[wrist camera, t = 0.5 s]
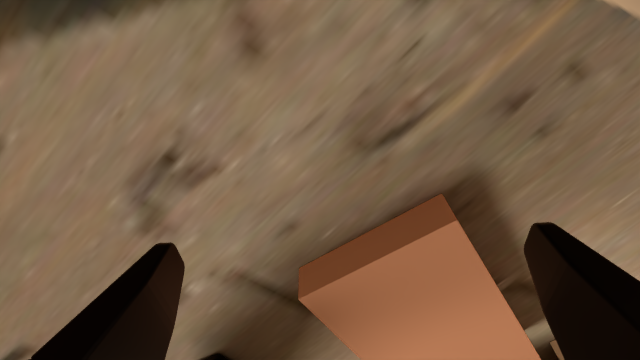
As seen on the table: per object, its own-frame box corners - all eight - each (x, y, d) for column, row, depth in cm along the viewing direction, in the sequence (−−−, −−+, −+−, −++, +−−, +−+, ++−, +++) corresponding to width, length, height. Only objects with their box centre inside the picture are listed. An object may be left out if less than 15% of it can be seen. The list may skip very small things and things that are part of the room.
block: (404, 372, 37) (412, 409, 34) (299, 263, 29) (298, 299, 26) (521, 325, 34) (542, 361, 31) (439, 189, 26) (457, 219, 23)
